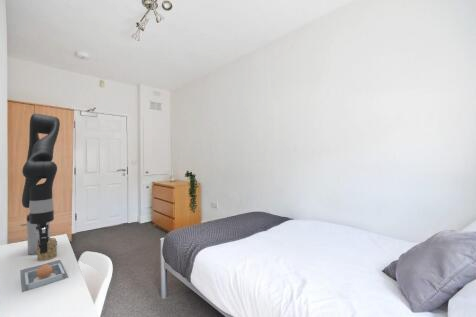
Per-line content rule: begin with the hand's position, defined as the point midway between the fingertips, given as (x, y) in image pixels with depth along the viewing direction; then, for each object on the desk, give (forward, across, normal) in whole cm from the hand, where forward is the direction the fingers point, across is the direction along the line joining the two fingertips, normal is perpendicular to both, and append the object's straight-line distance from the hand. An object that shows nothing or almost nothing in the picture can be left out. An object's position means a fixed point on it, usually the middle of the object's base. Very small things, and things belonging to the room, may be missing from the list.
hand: (42, 249), depth 94 cm
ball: (+11, 0, 0) cm, 11 cm away
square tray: (+12, 0, 0) cm, 12 cm away
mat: (+12, +5, 0) cm, 13 cm away
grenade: (+13, +25, -3) cm, 28 cm away
